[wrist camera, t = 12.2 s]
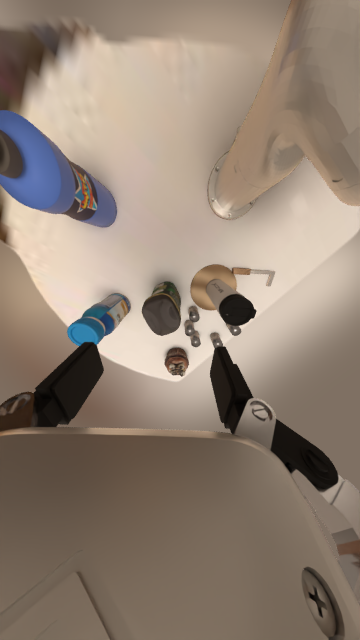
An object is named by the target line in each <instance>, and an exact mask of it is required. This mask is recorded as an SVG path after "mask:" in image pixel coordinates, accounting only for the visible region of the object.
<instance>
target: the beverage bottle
mask: <svg viewBox="0 0 360 640" xmlns="http://www.w3.org/2000/svg"><path fill="white" fill-rule="evenodd" d="M130 308H131V306H130V302H129V300H128V299H127V298H126V297H125V296H123V295H121V294H112V295H110V296H109V297H107V298H106V299H105V300H103V301H101V302H100V303H97V304H95V305H93V306H92V307H91V308H90V309H88V310H86V311H85V312H84V314H83V315H82V318H80V319H78V320H77V321H75V322H74V323H72V324H71V325H70V326H69V328H68V331H67V333H68V337H69V338H70V339H71V341H72V342H73V343H75V344H76V345H78V346H80V345H82V344H83V343H84V342H94V344H96V345H97V344H98V343H99V342H100V341H101V340H102V339H103V337H104V336H106V335H108V334H110V333H112V332H113V330H114V329H115V328H116V327H117V326H118V325H119V323H120V322H121V321H122V319H123V318H124V317H125V316H126V315H127V314H128V313H129V311H130Z"/></svg>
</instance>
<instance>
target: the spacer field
mask: <svg viewBox="0 0 360 640" xmlns="http://www.w3.org/2000/svg"><path fill="white" fill-rule="evenodd" d="M188 311H189V319H190V320H187V321H186V322H185V334H186V335H187V336H191V344H192V346H193V347H198V346H200V344H201V343H200V338H199V333H198V332H197V331H194V325H193V322H197V321H198V320H199V313H198V310H197V308H196V307H195V306H191V307H190V308H189V310H188ZM226 325H227V327H228V328H229V330H230V332H231V333H232V335H234V336H237V335H239V334H240V333H241V329H240V328H239V326H232V325H229V324H227V323H226ZM210 337H211V340H212V343H213V345H214V348H217V347H218V346H223V343H222V341H221V339H220V337H219V335H218V333H212V334H211V336H210Z"/></svg>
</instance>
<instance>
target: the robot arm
mask: <svg viewBox="0 0 360 640" xmlns="http://www.w3.org/2000/svg"><path fill="white" fill-rule="evenodd" d="M305 155H306V157H307V158H308V160H310V161H311V162H312V164H313V165H314V167H315V168H316V169H317V171H318V172H319V174H320V175H321V176H322V178H323V179H324V181H325V182H326V184H327V185H328V186H329V188H330V189H331V190H332V191H333V193H334V194H335V195H336V196H337V197H338V199H339V200H340V201H342V202H343V203H345V204H347V205H351V206H360V0H291V3H290V5H289V8H288V11H287V14H286V16H285V19H284V22H283V25H282V28H281V31H280V34H279V37H278V41H277V43H276V46H275V49H274V52H273V55H272V58H271V61H270V64H269V67H268V69H267V72H266V75H265V77H264V80H263V82H262V84H261V87H260V89H259V91H258V94H257V96H256V98H255V100H254V102H253V104H252V107H251V109H250V111H249V113H248V115H247V117H246V119H245V121H244V123H243V125H242V126H240V127H239V128H238V129H237V136H236V139H235V141H234V143H233V145H232V147H231V149H230V151H229V152H227V153H226V154H224V155H223V156H222V157H221V158H220V159H219V160H218V162H217V163H216V165H215V167H214V169H213V171H212V173H211V176H210V179H209V183H208V199H209V203H210V206H211V208H212V210H213V211H214V212H215V214H216V215H217V216H219V217H220V218H223V219H227V220H231V219H236V218H239V217H240V216H242V215H244V214H245V213H246V212H247V211H248V210H250V209H251V207H252V206H253V205H254V203H255V201H256V199H257V197H258V196H260V195H261V194H262V193H264V192H265V191H267V190H268V189H269V188H271V187H272V186H274V185H275V184H277V183H278V182H279V181H281V180H282V179H284V178H285V177H286V176H287V175H289V174H290V173H291V172H292V171H293V170H294V169H295V168H296V167H297V166H298V164H299V163H300V162H301V161H302V160H303V158H304V157H305ZM215 170H217V172H216V171H215ZM212 200H213V202H212ZM249 203H250V204H249ZM228 215H230V217H228ZM103 371H104V369H103V365H102V362H101V358H100V355H99V352H98V348H97V345H96V344H94V342H84V343H83V344H82V345H80V346H79V347H78V348H77V349H76V350H75V351H74V352H73V353H72V354H71V355H70V356H69V357H68V358H67V359H66V360H65V361H64V362H63V363H61V364H60V365H59V366H58V367H57V368H56V369H55V370H54V371H53V372H52V373H51V374H50V375H49V376H48V377H47V378H46V379H44V380H43V381H42V382H41V383H40V384H39V385H38V386H37V387H36V388H35V389H36V391H35V392H34V393H32V392H23V393H20V394H17V395H15V396H13V397H11V398H9V399H7V400H6V401H5V402H3V403H2V404H1V405H0V640H360V492H359V491H358V490H357V489H356V488H355V487H354V486H353V485H352V484H351V483H350V482H349V481H348V480H345V481H344V480H343V479H342V478H341V477H340V476H339V475H338V473H337V471H336V469H335V467H334V465H333V463H332V462H331V461H330V459H329V458H328V457H327V456H326V455H325V454H324V453H323V452H322V451H321V450H320V449H318V448H317V447H316V446H314V445H313V444H311V443H310V442H309V441H307V440H306V439H304V438H303V437H302V436H300V435H299V434H297V433H296V432H294V431H293V430H291V429H290V428H289V427H287V426H286V425H284V424H283V423H282V422H280V421H279V420H277V419H276V415H275V413H274V411H273V409H272V408H271V407H270V406H269V405H268V404H267V403H266V402H264V401H263V400H261V399H257V398H253V396H252V394H251V392H250V390H249V388H248V386H247V384H246V382H245V380H244V378H243V376H242V374H241V372H240V370H239V368H238V366H237V365H236V364H233V362H232V360H231V358H230V355H229V353H228V351H227V349H226V347H223V346H218V347H217V348H215V350H214V355H213V360H212V365H211V370H210V378H211V382H212V386H213V390H214V395H215V399H216V403H217V407H218V411H219V416H220V420H221V422H222V423H224V426H225V428H229V429H230V430H231V433H232V434H230V433H223V432H212V431H193V430H163V429H161V430H160V429H126V428H125V429H124V428H122V429H121V428H77V427H74V428H73V427H56V426H57V425H58V424H67V425H68V424H69V422H70V421H71V419H73V418H74V417H75V416H76V414H77V413H78V411H79V410H80V408H81V407H82V405H83V403H84V402H85V400H86V399H87V397H88V395H89V394H90V393H91V391H92V389H93V388H94V386H95V385H96V383H97V381H98V380H99V378H100V377H101V375H102V373H103ZM305 498H306V499H307V500H308V501H309V502H310V504H311V505H312V506H313V507H314V509H315V510H316V512H315V513H316V514H317V516H318V517H319V518H320V519H321V521H322V522H323V523H324V524H325V526H326V527H327V529H328V530H329V532H330V533H331V535H332V537H333V539H334V541H335V543H336V546H337V550H338V554H339V561H337V559H336V557H335V555H334V553H333V551H332V549H331V547H330V545H329V543H328V541H327V539H326V537H325V535H324V533H323V531H322V529H321V527H320V525H319V523H318V521H317V520H316V518H315V516H314V514H313V512H312V510H311V508H310V507H309V505H308V503H307V501H306V499H305ZM303 569H304V570H303Z"/></svg>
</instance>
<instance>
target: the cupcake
mask: <svg viewBox="0 0 360 640" xmlns="http://www.w3.org/2000/svg"><path fill="white" fill-rule="evenodd" d="M188 365H189V361H188V359H187V356H186V353H185V351H184V350H183V349H180V348H173V349H171V350H170V351H169V352H168V354H167V357H166V359H165V366H166V368H167V370H168V371H169V372H170V373H171V374H172V375H180V376H183V375H185V371H186V369H187V367H188Z"/></svg>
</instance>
